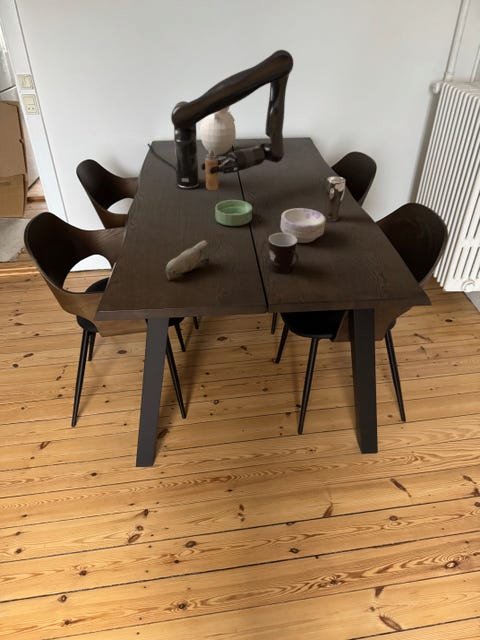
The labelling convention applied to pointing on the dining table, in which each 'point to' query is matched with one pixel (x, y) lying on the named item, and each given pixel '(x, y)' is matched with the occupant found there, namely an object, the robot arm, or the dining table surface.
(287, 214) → the paper bowls
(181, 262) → the decorative bird
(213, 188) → the pepper mill
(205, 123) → the pitcher
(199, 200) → the dining table surface
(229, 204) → the serving bowl
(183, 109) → the robot arm
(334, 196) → the beer glass
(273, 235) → the coffee mug
